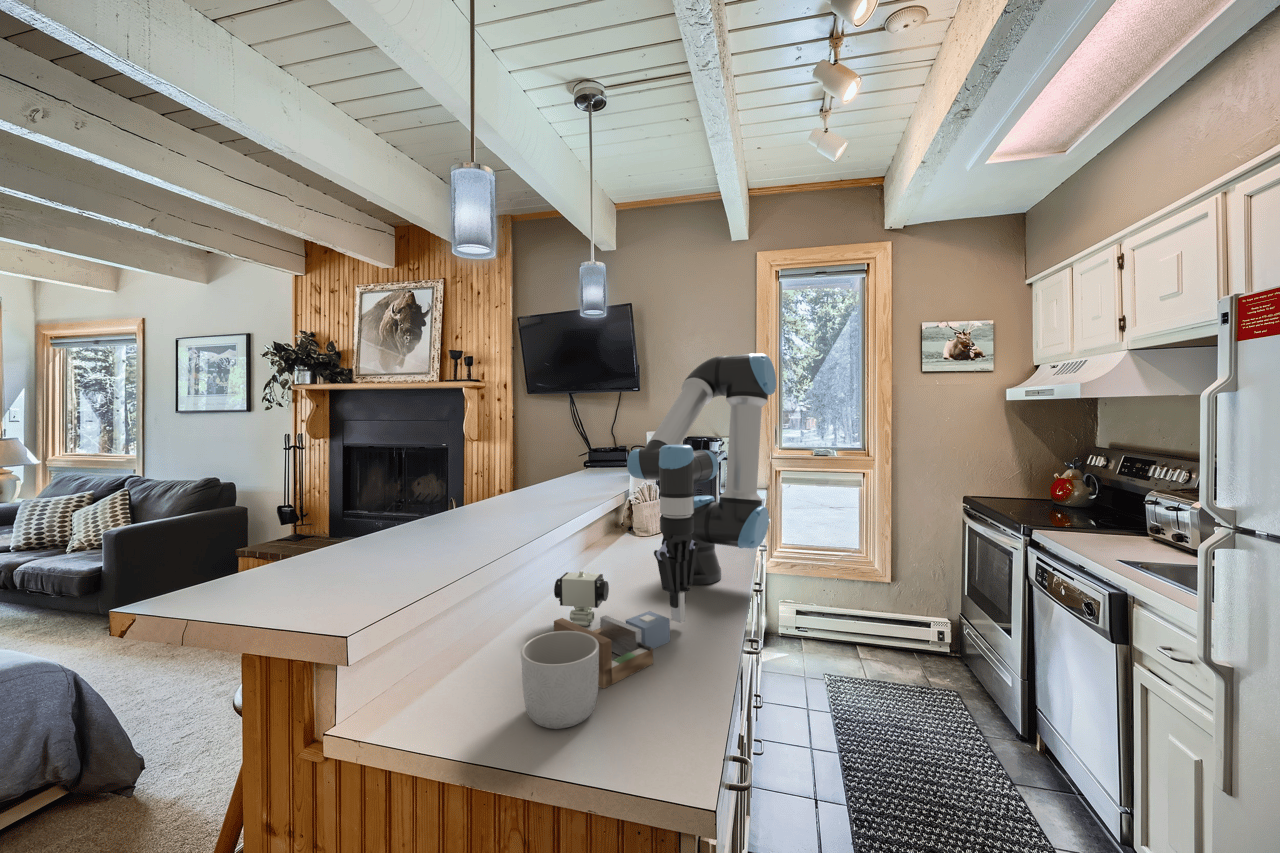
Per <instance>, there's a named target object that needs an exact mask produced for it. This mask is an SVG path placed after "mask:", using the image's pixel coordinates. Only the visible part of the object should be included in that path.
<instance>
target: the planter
mask: <svg viewBox="0 0 1280 853" xmlns="http://www.w3.org/2000/svg"><path fill="white" fill-rule="evenodd" d="M520 663H521V665H520V666H521V678H522V691H523V692H522V694H523V702H524V705H525V706H524V707H525V710H526V711H525V712H526V713H527V715H528V717H529V719H530V720H531V721H532V722H534V723H535V724H537V725H538V726H540V727H542V728H543V727H544V728H546V729H555V730H558V729H566V728H571V727H574V726H577V725H578V724H581V723H583V722H584V721H585V720H586V719H587V718H589V717H590V716H591V714H592V713H593V711H594V710H595V707H596V704H597V702H598V701H597V700H598V695H599V694H598V692H599V686H598V679H599V643H598V641H597V640H596V639H595V638H594V637H593V636H591V635H589V634H586V633H582V632H577V631H557V632H554V631H551V632H547V633H543V634H540V635H537V636H535V637H533V638H531V639H529V640H527V642H526V643H524V644H523V646H522V647H521V649H520Z"/></svg>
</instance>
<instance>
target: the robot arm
mask: <svg viewBox="0 0 1280 853" xmlns="http://www.w3.org/2000/svg"><path fill="white" fill-rule="evenodd" d="M776 389H777V377H776V370H775V367H774V363H773V362H772V359H771V358H770V357H769V356H768V355H767V354H766V353H753V352H752V353H751V352H750V353H745V354H735V355H734V354H733V355H721V356H714V357H712V358H710V359H709V358H708V359H707V360H706V361H703V362H701V364H699V365H698V366H696V367H695V368H694V369H693V370H692V371H691V372H690V373H689V374H688V376H687V377H686V378H685V379H684V381H683V382H682V385H681V392H680V394H679V395H678V396H677V398H676V400H675V401H674V402H673V405H672V406H671V407H670V408H669V410H668V412H667V413H666V414H665V416H664V417H663V419H662V421H661V423H660V424H659V426H658V427H657V429H656V430H655V431H654V432H653V434H652V436H651V437H650V439H649V441H648V442H647V443H646V445H645V447H644V448H635V449H633V450H631V451H630V452H629V454H628V457H627V460H626V466H627V471H628V473H629V475H630V476H631V477H633V478H634V479H635V478H636V479H638V480H639V479H641V480H646V481H647V480H650V481H651V480H652V481H659V513H660V514H661V515H660V517H659V531H660V532H661V534H662V540H661V547H660V548H659V549H658V550H657V549H655V550H654V551H653V555H654V557H655V559H656V561H657V567H658V573H659V577H660V581H661V588H662V591H664V592H667V593H669V606H670V610H671V611H670V612H671V613H670V615H671V616H670V618H671V620H670V621H674V622H676V623H680V624H682V623H684V622H685V621H686V606H685V605H686V602H687V598H686V597H687V596H686V595H687V594H686V592H690V591H691V588H689V587H692V585H696V586H697V585H701V586H702V585H709V584H713V583H717V582H719V581H720V580H721V579H722V568H721V566H720V563H719V560H718V556H717V553H716V549H715V548H716V547H715V546H716V545H720V546H726V547H733V548H739V549H750V550H751V549H752V550H753V549H756V548H759V547H760V546H761V545H762V543H763V542H764V540H765V538H766V537H767V536H766V535H767V532H768V530H769V529H768V528H769V523H770V522H769V521H770V516H769V510H768V508H767V507H765V506H764V505H763V499H762V498H761V497H760V495H759V494H758V478H759V462H760V461H759V459H760V444H761V426H762V425H761V423H762V408H763V407H764V406H765V405H766V404H767V403H768V400H769V399H768V398H769V396H772V395H773V394H774V393H775V392H776ZM722 396H723V397H725V401H726V402H727V403H728V404H729V406H730V412H729V416H730V417H729V430H728V431H729V433H728V446H727V460H726V461H727V462H726V463H727V464H726V477H725V490H724V491H723V493H721V494H720V495H719V499H718V500H719V501H718V502H716V499H715V496H713V495H696V496H695V495H694V490H695V489H694V486H695V485H696V484H699V483H706V482H708V481H709V480H713V479H714V477H716V476H717V474H718V472H719V468H720V464H719V460H718V457H717V456H716V455H715V453H714V452H712V451H710V450H708V449H698V450H694V448H693V447H692V446H691V445H690V444H683V442H684V440H685V438H686V437H687V435H688V434H689V432H690V430H691V429H692V426H693V425H694V423H695V421H696V420H697V418H698V416H699V415H700V413H701V411H702V409H703V408H704V407H705V406H706V405H709V404H710V403H711V402H712V400H713V399H714V398H716V397H722Z"/></svg>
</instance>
